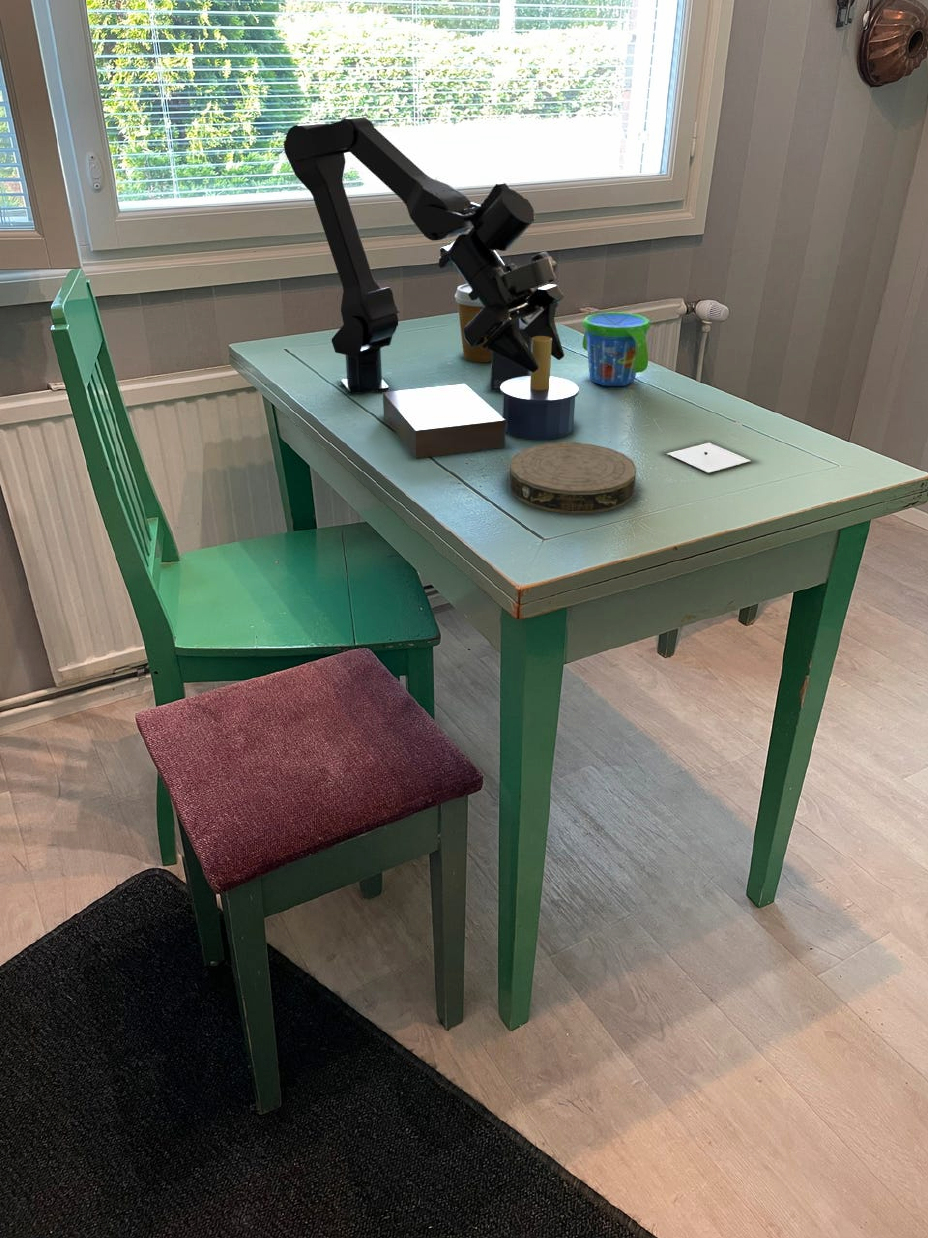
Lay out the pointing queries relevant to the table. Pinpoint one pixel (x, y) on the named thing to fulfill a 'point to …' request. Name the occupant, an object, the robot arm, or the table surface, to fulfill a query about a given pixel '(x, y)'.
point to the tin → (538, 419)
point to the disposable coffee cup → (466, 314)
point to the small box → (508, 364)
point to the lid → (540, 379)
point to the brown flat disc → (572, 477)
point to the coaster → (708, 457)
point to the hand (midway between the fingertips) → (549, 364)
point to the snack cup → (615, 347)
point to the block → (443, 420)
